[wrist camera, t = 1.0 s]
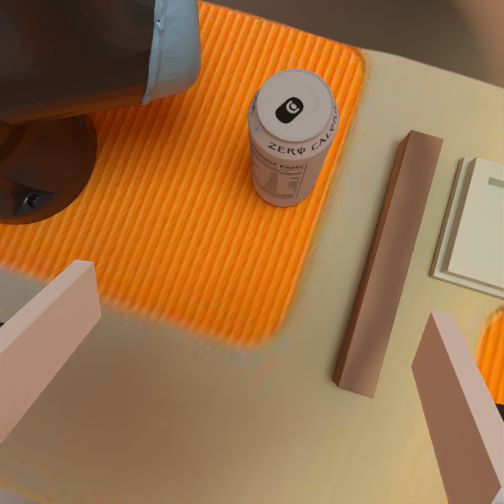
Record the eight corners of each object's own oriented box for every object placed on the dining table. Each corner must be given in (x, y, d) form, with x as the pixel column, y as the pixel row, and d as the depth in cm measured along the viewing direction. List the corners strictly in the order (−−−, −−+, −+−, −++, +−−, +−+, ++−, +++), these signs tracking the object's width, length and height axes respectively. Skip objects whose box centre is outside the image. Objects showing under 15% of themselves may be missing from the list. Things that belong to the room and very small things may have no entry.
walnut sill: (332, 380, 37) (338, 387, 34) (400, 143, 40) (411, 129, 37) (363, 391, 37) (372, 398, 34) (429, 151, 40) (443, 139, 37)
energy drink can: (326, 180, 40) (364, 105, 25) (282, 221, 39) (293, 170, 24) (284, 138, 40) (296, 40, 25) (240, 178, 40) (226, 103, 25)
